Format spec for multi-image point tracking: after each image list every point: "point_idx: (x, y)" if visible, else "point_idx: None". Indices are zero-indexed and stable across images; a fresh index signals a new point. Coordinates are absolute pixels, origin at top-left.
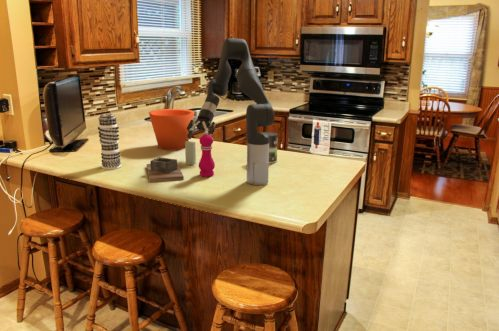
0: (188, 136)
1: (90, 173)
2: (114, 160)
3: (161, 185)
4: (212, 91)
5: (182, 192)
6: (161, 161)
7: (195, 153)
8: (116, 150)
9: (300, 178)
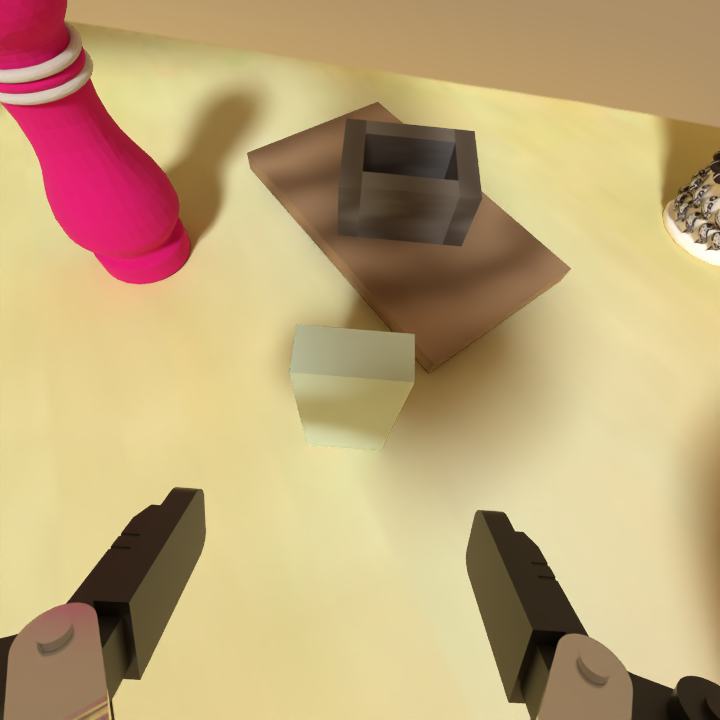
0: (492, 514)
1: (682, 143)
2: (705, 175)
3: (312, 102)
4: None
5: (196, 69)
6: (406, 135)
7: (300, 416)
8: None
9: None
